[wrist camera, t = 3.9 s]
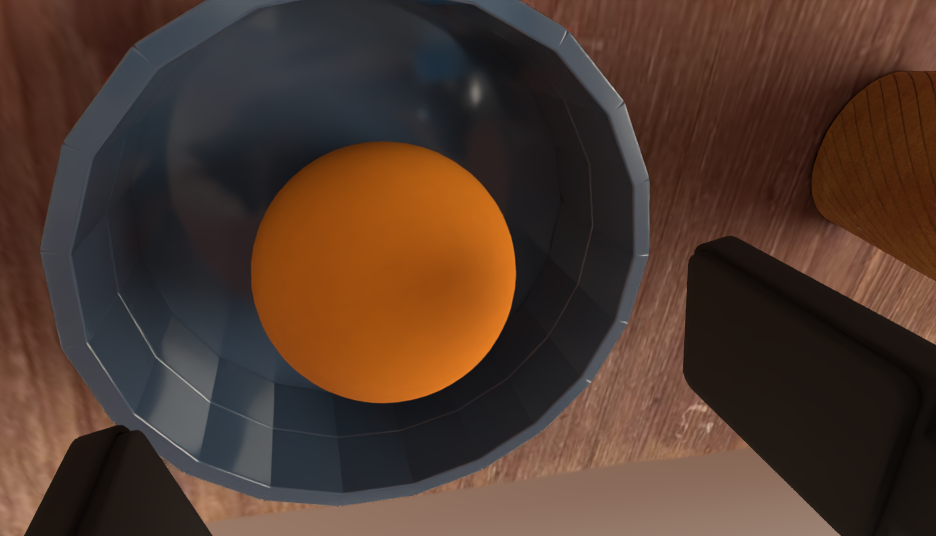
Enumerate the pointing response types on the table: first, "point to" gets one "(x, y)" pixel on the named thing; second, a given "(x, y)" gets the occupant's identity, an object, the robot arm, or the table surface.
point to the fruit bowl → (267, 171)
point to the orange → (383, 272)
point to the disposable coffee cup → (884, 168)
